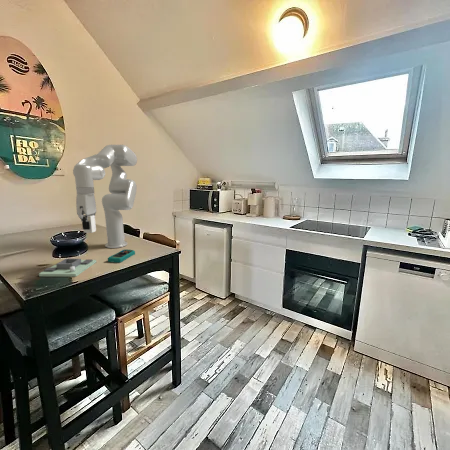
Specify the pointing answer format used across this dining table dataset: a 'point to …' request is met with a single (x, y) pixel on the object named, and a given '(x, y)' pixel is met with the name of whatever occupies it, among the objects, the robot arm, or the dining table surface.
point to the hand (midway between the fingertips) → (89, 227)
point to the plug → (91, 224)
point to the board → (68, 268)
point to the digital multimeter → (121, 256)
